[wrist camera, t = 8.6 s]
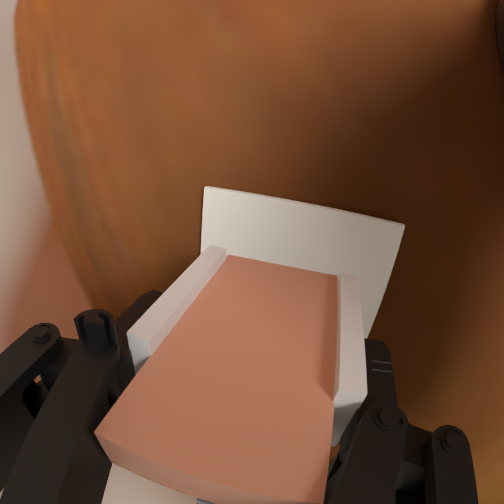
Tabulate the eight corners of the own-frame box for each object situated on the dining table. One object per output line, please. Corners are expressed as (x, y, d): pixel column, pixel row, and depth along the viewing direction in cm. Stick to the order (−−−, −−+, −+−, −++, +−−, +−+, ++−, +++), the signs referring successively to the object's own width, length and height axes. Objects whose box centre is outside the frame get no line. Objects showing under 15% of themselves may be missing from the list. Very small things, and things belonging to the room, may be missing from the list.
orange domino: (228, 254, 14) (93, 432, 5) (337, 275, 13) (323, 503, 4) (226, 284, 15) (111, 461, 6) (329, 305, 14) (304, 521, 5)
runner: (206, 186, 18) (204, 187, 18) (403, 223, 16) (405, 226, 16) (201, 444, 31) (200, 447, 31) (299, 469, 29) (298, 472, 28)
